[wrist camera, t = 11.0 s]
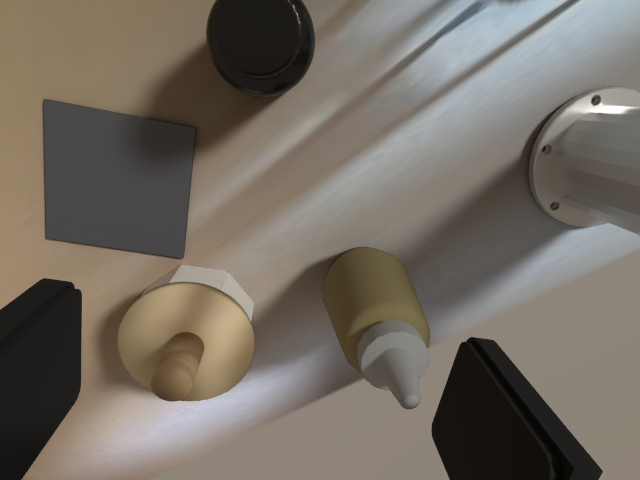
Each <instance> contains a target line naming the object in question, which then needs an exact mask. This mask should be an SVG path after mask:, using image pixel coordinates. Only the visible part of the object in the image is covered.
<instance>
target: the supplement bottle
mask: <svg viewBox="0 0 640 480" xmlns="http://www.w3.org/2000/svg"><path fill="white" fill-rule="evenodd" d="M206 39H207V46H208V50H209V54H210V57H211V59H212V62H213V64H214V66H215V67H216V69H217V70H218V72H219V73H220V75H221V76H222V77H223V78H224V79H225V80H226V81H227V82H228V83H229V84H230V85H232V86H233V87H234V88H236V89H237V90H239V91H241V92H243V93H246V94H248V95H252V96H257V97H271V96H277V95H280V94H283V93H285V92H287V91H289V90H290V89H291V88H293V87H294V86H295V85H296V84H298V83H299V82H300V80H301V79H302V78H303V77H304V75H305V74H306V72H307V70H308V69H309V66H310V64H311V61H312V58H313V54H314V48H315V33H314V27H313V23H312V20H311V17H310V14H309V12H308V10H307V8H306V6H305V5H304V3H303V2H302V1H301V0H216V1H215V3H214V5H213V7H212V9H211V11H210V14H209V17H208V21H207V29H206Z"/></svg>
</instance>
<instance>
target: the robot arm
mask: <svg viewBox="0 0 640 480" xmlns="http://www.w3.org/2000/svg"><path fill="white" fill-rule="evenodd" d="M542 148H543V150H542ZM529 182H530V188H531V191H532V193H533V196H534V198H535V200H536V201H537V203H538V204H539V206H540V207H541V208H542V209H543V210H544V211H545V212H546V213H547V214H548V215H550V216H551V217H553V218H555V219H557V220H559V221H561V222H564V223H566V224H568V225H573V226H579V227H591V226H597V225H602V224H606V223H611V224H613V225H616V226H618V227H621V228H623V229H626V230H628V231H631V232H633V233H636V234H638V235H640V91H637V90H634V89H632V88H624V87H604V88H599V89H594V90H590V91H588V92H585V93H583V94H580V95H578V96H576V97H575V98H573V99H571V100H570V101H568V102H567V103H565V104H564V105H563V106H562V107H561V108H559V109H558V110H557V111H556V112H555V113H554V114H553V115H552V116H551V117H550V119H549V120H548V121H547V122H546V123H545V125H544V126H543V128H542V130H541V131H540V133H539V135H538V136H537V139H536V141H535V143H534V146H533V148H532V152H531V156H530V161H529ZM81 321H82V294H81V291H80V290H79V289H75V287H74V284H73V283H72V282H68V281H60V280H53V279H45V278H44V279H42V280H40V281H38V282H37V283H36V284H34V285H33V286H32V287H30V288H29V289H28V290H26V291H25V292H24V293H22V294H21V295H20V296H18V297H17V298H16V299H14V300H13V301H12V302H10V303H9V304H8V305H6V306H5V307H4V308H2V309H1V310H0V480H21V479H22V478H23V476H24V475H25V474H26V472H27V471H28V469H29V468H30V466H31V465H32V464H33V462H34V461H35V459H36V458H37V456H38V455H39V453H40V452H41V451H42V449H43V448H44V446H45V445H46V443H47V442H48V441H49V439H50V438H51V436H52V435H53V433H54V432H55V430H56V429H57V428H58V426H59V425H60V423H61V422H62V420H63V419H64V418H65V416H66V415H67V413H68V412H69V410H70V409H71V407H72V406H73V405H74V403H75V401H76V400H77V398H78V395H79V392H80V388H81ZM432 437H433V440H434V442H435V445H436V447H437V450H438V452H439V455H440V457H441V459H442V462H443V464H444V467H445V469H446V471H447V474H448V476H449V479H450V480H598V479H599V478H600V476H601V474H602V472H603V471H602V470H601V469H600V467H599V466H598V465H597V464H596V462H595V461H594V460H593V459H592V458H591V456H590V455H589V454H588V453H587V452H586V450H585V449H584V448H583V447H582V446H581V444H580V443H579V442H578V441H577V440H576V438H575V437H574V436H573V435H572V434H571V432H570V431H569V430H568V429H567V428H566V426H565V425H564V424H563V423H562V421H561V420H560V419H559V418H558V417H557V415H556V414H555V413H554V412H553V411H552V410H551V408H550V407H549V406H548V405H547V404H546V402H545V401H544V400H543V399H542V397H541V396H540V395H539V394H538V393H537V392H536V390H535V389H534V388H533V387H532V386H531V384H530V383H529V382H528V381H527V379H526V378H525V377H524V376H523V374H521V372H520V371H519V370H518V368H517V367H516V366H515V365H514V364H513V363H512V361H511V360H510V359H509V358H508V356H507V355H506V354H505V353H504V352H503V351H502V349H501V348H500V347H499V346H498V344H497V343H496V342H495V341H494V340H488V339H481V338H474V337H471V338H469V339H468V340H467V341H466V342H462V343H461V344H460V346H459V349H458V352H457V355H456V357H455V360H454V363H453V366H452V369H451V372H450V374H449V377H448V380H447V383H446V386H445V389H444V391H443V394H442V397H441V400H440V403H439V406H438V408H437V411H436V414H435V417H434V420H433V423H432Z"/></svg>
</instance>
